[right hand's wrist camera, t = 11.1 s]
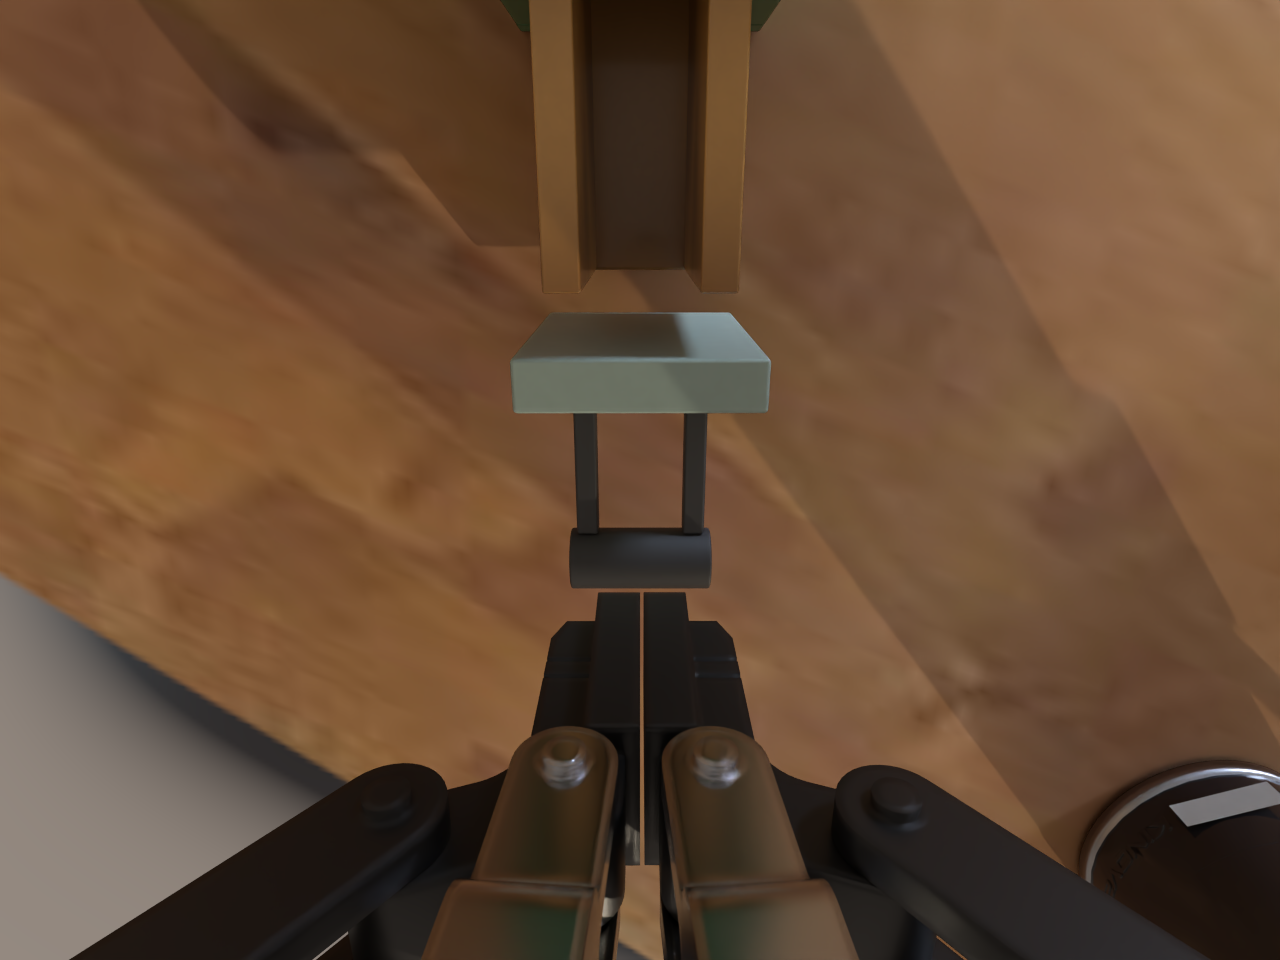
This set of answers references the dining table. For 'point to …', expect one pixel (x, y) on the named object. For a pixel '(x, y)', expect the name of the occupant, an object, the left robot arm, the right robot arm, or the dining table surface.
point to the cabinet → (519, 11)
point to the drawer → (640, 248)
